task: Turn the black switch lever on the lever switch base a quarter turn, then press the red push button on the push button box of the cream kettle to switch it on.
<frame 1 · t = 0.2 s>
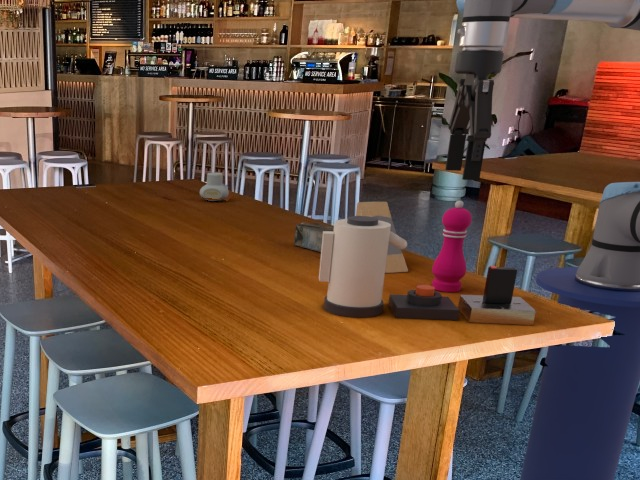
hand: (461, 175, 145), 29 cm above the table, tool pointing down, fingers open, 13 cm apart
lever switch base: (494, 316, 162), on the table
red push button: (425, 291, 163), point 4 cm above the table, slide at 0.1 cm
sandwich container: (378, 266, 202), on the table
kettle: (352, 309, 166), on the table
beverage carton: (326, 251, 219), on the table
air freshener: (213, 201, 299), on the table
pepper mill: (445, 289, 182), on the table
black switch lever: (499, 284, 159), point 7 cm above the table, hinge at 0.0°
push button box: (421, 312, 164), on the table
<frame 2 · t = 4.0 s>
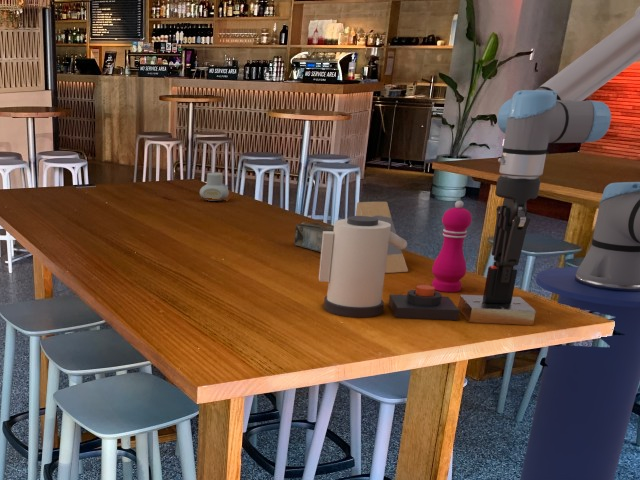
hand: (497, 295, 160), 4 cm above the table, tool pointing down, fingers closed on black switch lever, 2 cm apart
black switch lever: (499, 284, 159), point 7 cm above the table, hinge at 0.0°, touching gripper
everything else where it was.
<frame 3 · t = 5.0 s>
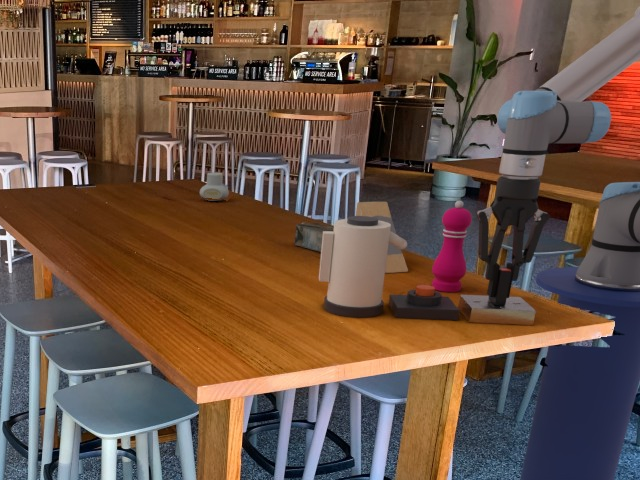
hand: (497, 295, 160), 4 cm above the table, tool pointing down, fingers open, 2 cm apart
black switch lever: (499, 284, 159), point 7 cm above the table, hinge at 89.3°
everything else where it was.
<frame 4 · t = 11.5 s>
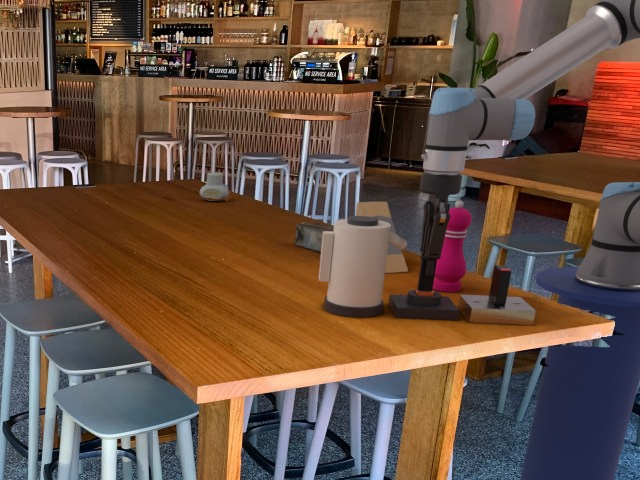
hand: (424, 289, 163), 5 cm above the table, tool pointing down, fingers closed
red push button: (424, 295, 163), point 4 cm above the table, slide at -0.8 cm, touching gripper
everything else where it was.
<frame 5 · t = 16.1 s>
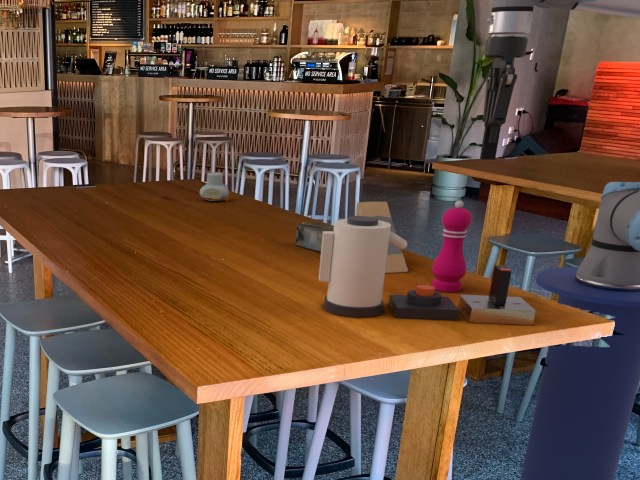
hand: (487, 159, 165), 29 cm above the table, tool pointing down, fingers closed
red push button: (425, 291, 163), point 4 cm above the table, slide at 0.1 cm
everything else where it was.
at the end: black switch lever at +89° (first picture: +0°); red push button pushed in 1.0 cm at the most during the clip, back to where it started at the end; red push button slide at 0.1 cm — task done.
